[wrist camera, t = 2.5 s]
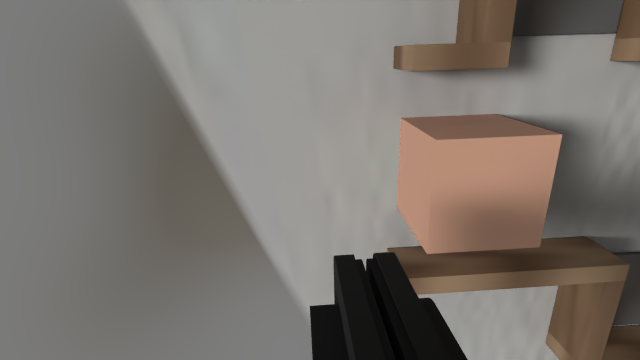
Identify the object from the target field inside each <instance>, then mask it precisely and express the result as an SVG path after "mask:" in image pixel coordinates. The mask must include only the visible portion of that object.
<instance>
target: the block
mask: <svg viewBox="0 0 640 360" xmlns="http://www.w3.org/2000/svg"><path fill="white" fill-rule="evenodd" d="M562 135H563V134H560V133H556V132H553V131H550V130H546V129H543V128H540V127H537V126H533V125H530V124H527V123H523V122H520V121H517V120H514V119H510V118H507V117H504V116H501V115H497V114H487V115H463V116H439V117H415V118H401V129H400V151H399V172H398V194H397V208H398V210H399V211H400V213H401V215H402V216H403V218H404V219H405V221H406V222H407V224H408V225H409V227H410V229H411V230H412V232H413V233H414V235H415V236H416V238H417V239H418V241H419V242H420V244H421V246H422V247H423V249H424V250H425V252H426V253H427V254H435V253H452V252H469V251H485V250H502V249H519V248H536V247H540V244H541V239H542V234H543V229H544V224H545V219H546V214H547V209H548V204H549V199H550V194H551V189H552V184H553V179H554V174H555V169H556V164H557V159H558V154H559V150H560V145H561V140H562Z"/></svg>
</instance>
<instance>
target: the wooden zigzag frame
mask: <svg viewBox="0 0 640 360" xmlns="http://www.w3.org/2000/svg"><path fill="white" fill-rule="evenodd" d="M622 5H623V7H622ZM621 9H622V11H621ZM620 13H621V16H620ZM619 18H620V20H619ZM618 22H619V24H618ZM617 26H618V29H617ZM616 31H617V33H616V37H615V42H614V46H613V51H612V55H611V59H610V61H640V0H624V2H623V0H460V3H459V14H458V26H457V37H456V44H428V45H407V46H395V47H394V69H401V70H408V71H430V70H458V69H485V68H508V61H509V54H510V47H511V40H512V36H526V35H557V34H588V33H615V32H616ZM387 252H394V253H395V254H396V256H397V258H398V260H399V262H400V264H401V266H402V267H403V269H404V271H405V273H406V275H407V277H408V279H409V281H410V283H411V285H412V286H413V288H414V290H415V292H416V294H417V295H419V294H434V293H449V292H464V291H479V290H494V289H510V288H525V287H540V286H555V285H559V287H558V291H557V296H556V300H555V305H554V309H553V313H552V318H551V322H550V326H549V331H548V335H547V340H546V344H547V346H548V347H549V348H550V349H551V350H552V351H553V353H554V354H555V355H556V356H557V357H558V358H559V360H640V325H631V326H618V327H612V326H615V325H629V324H640V252H630V253H614V254H613V253H611V252H610V251H608V250H606V249H605V248H603V247H602V246H600V245H599V244H597V243H595V242H594V241H592V240H591V239H589V238H587V237H570V238H554V239H541V244H540V247H536V248H519V249H502V250H485V251H469V252H452V253H435V254H427V253H426V252H425V250H424V249H423V247H422V246H420V247H403V248H387Z"/></svg>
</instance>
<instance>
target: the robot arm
mask: <svg viewBox="0 0 640 360" xmlns="http://www.w3.org/2000/svg"><path fill="white" fill-rule="evenodd" d="M334 296H335V304H333V305H318V306H310V317H311V335H312V355H313V360H467V358H466V356H465V354H464V353H463V351H462V349H461V348H460V346H459V344H458V343H457V341H456V339H455V337H454V336H453V334H452V332H451V331H450V329H449V327H448V325H447V324H446V322H445V320H444V319H443V317H442V315H441V313H440V312H439V310H438V308H437V307H436V305H435V303H434V302H433V300H432V299H430V298H418V296H417V294H416V292H415V290H414V288H413V286H412V285H411V283H410V281H409V279H408V277H407V275H406V273H405V271H404V269H403V267H402V266H401V264H400V262H399V260H398V258H397V256H396V254H395V253H394V252H386V253H374V254H373V259H367V261H366V270H365V267H364V265H363V262H362V259H357V260H355V257H354V255H338V256H334Z"/></svg>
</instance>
